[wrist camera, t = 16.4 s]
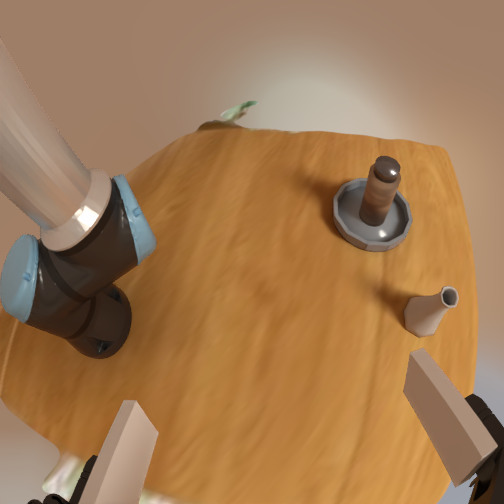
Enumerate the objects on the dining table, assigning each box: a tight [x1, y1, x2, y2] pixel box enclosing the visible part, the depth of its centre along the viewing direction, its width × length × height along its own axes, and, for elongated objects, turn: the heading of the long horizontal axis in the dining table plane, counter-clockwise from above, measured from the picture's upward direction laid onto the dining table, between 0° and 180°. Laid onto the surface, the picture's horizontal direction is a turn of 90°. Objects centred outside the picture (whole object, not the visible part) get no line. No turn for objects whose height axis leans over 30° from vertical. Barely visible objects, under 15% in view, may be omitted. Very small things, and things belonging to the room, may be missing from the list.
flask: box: [404, 286, 459, 337], centre depth 33 cm, size 7×7×10 cm
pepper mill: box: [359, 156, 401, 227], centre depth 41 cm, size 5×5×13 cm
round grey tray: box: [333, 178, 413, 252], centre depth 46 cm, size 15×15×2 cm
